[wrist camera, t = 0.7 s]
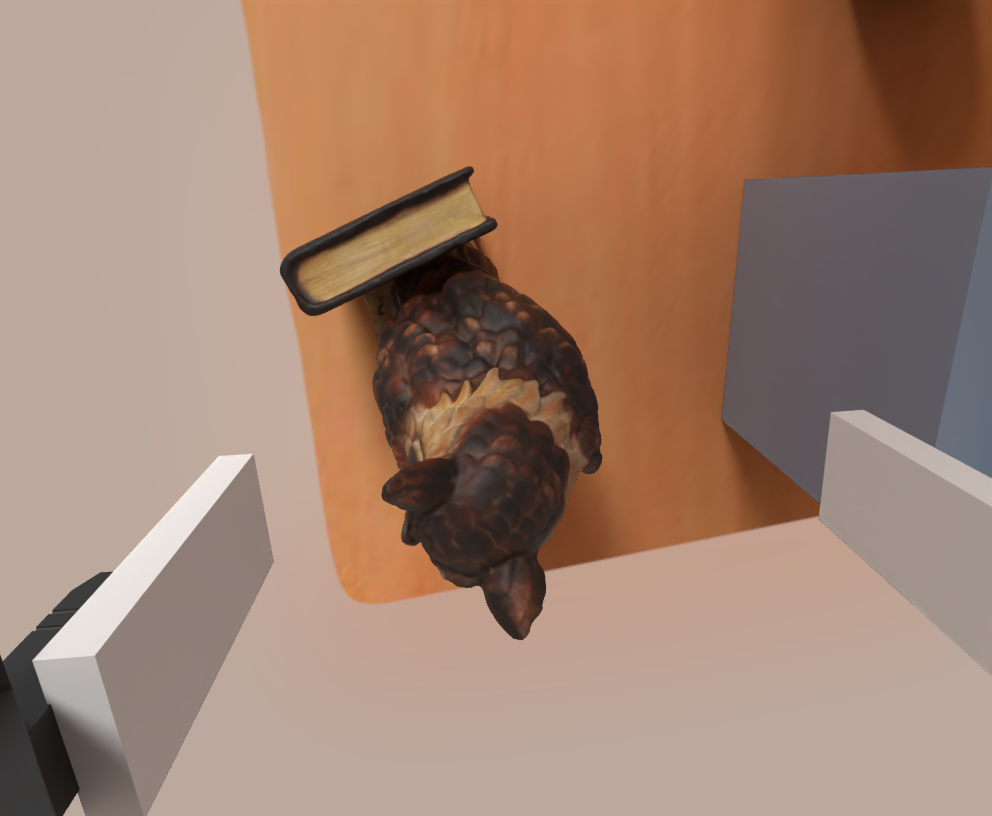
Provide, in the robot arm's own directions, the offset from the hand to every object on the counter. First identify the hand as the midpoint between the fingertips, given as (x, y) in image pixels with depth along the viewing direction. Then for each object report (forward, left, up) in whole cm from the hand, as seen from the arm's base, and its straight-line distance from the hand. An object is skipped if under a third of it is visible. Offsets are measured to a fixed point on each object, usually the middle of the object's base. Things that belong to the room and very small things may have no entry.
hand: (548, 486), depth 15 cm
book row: (+1, +21, -29) cm, 36 cm away
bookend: (+1, -2, -29) cm, 29 cm away
